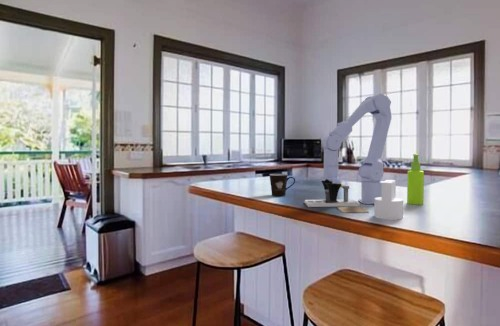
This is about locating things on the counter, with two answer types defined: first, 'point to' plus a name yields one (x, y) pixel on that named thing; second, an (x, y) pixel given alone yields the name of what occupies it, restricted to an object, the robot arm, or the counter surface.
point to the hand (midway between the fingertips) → (330, 199)
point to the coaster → (352, 210)
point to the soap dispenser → (415, 183)
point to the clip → (344, 186)
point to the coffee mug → (279, 184)
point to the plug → (329, 197)
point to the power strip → (339, 203)
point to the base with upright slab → (388, 202)
